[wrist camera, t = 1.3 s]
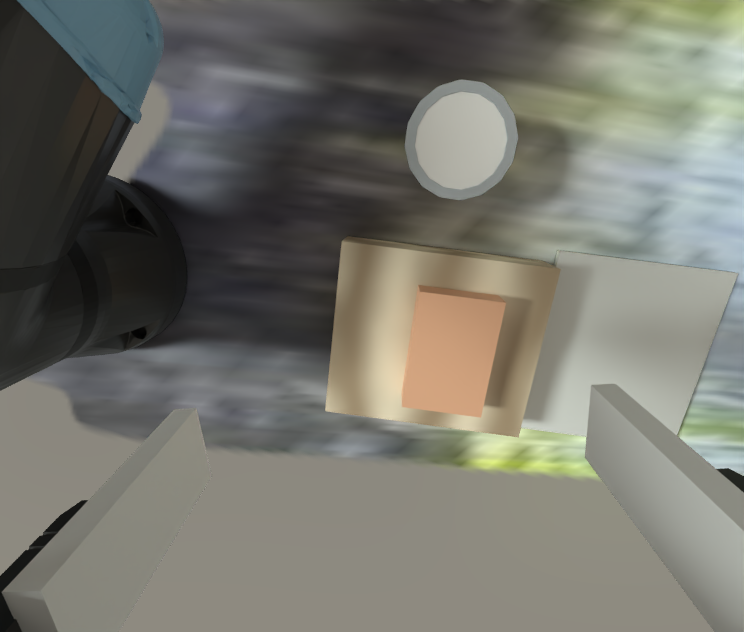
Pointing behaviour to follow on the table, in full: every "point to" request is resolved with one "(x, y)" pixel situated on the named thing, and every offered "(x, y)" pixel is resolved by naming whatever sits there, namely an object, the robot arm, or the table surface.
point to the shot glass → (461, 139)
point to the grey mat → (624, 338)
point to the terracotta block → (451, 350)
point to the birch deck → (394, 322)
